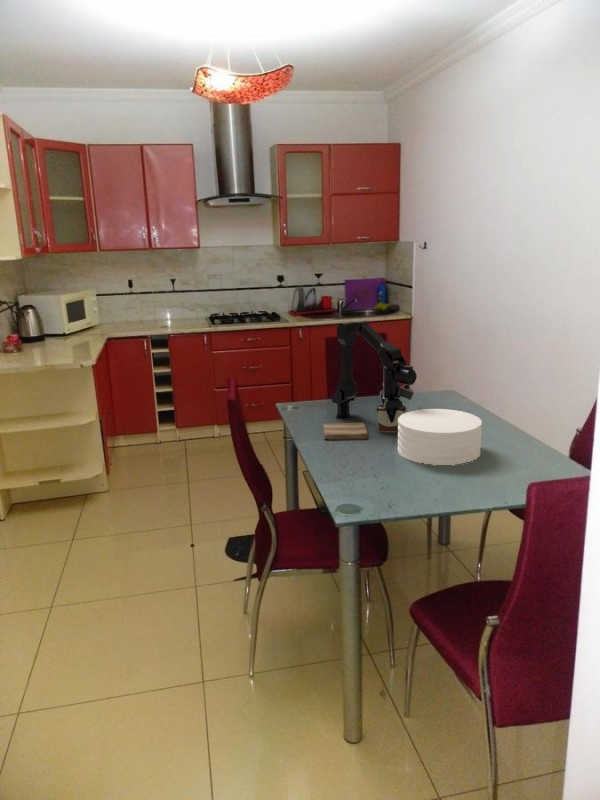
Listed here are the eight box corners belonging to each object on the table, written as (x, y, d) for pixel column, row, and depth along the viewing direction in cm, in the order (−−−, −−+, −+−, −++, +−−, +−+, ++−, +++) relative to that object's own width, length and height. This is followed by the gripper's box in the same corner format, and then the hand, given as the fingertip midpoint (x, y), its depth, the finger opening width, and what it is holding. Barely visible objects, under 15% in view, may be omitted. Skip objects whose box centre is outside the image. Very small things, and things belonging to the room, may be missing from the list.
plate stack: (479, 440, 216) (481, 410, 213) (480, 469, 190) (482, 435, 187) (402, 436, 223) (402, 407, 220) (393, 463, 197) (393, 430, 194)
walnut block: (323, 428, 235) (323, 423, 234) (363, 427, 235) (363, 422, 234) (324, 440, 221) (324, 434, 221) (367, 438, 221) (367, 433, 221)
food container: (406, 427, 233) (406, 402, 231) (407, 432, 227) (407, 407, 225) (374, 427, 234) (374, 403, 232) (374, 432, 228) (374, 407, 226)
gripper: (416, 385, 216) (415, 426, 220) (408, 374, 235) (407, 412, 238) (386, 386, 217) (385, 427, 221) (379, 375, 235) (379, 413, 239)
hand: (390, 419), depth 230 cm, fingers closed on food container, 6 cm apart
